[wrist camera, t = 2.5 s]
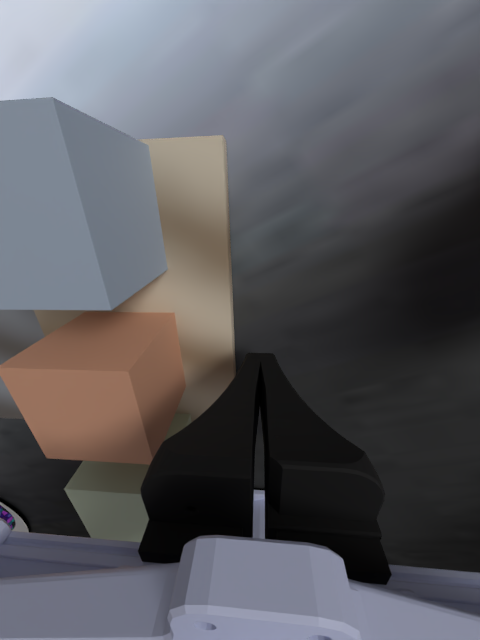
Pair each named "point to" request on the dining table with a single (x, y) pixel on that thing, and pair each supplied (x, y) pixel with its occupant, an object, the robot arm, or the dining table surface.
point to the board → (171, 274)
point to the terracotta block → (101, 386)
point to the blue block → (73, 210)
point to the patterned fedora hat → (9, 519)
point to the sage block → (114, 494)
